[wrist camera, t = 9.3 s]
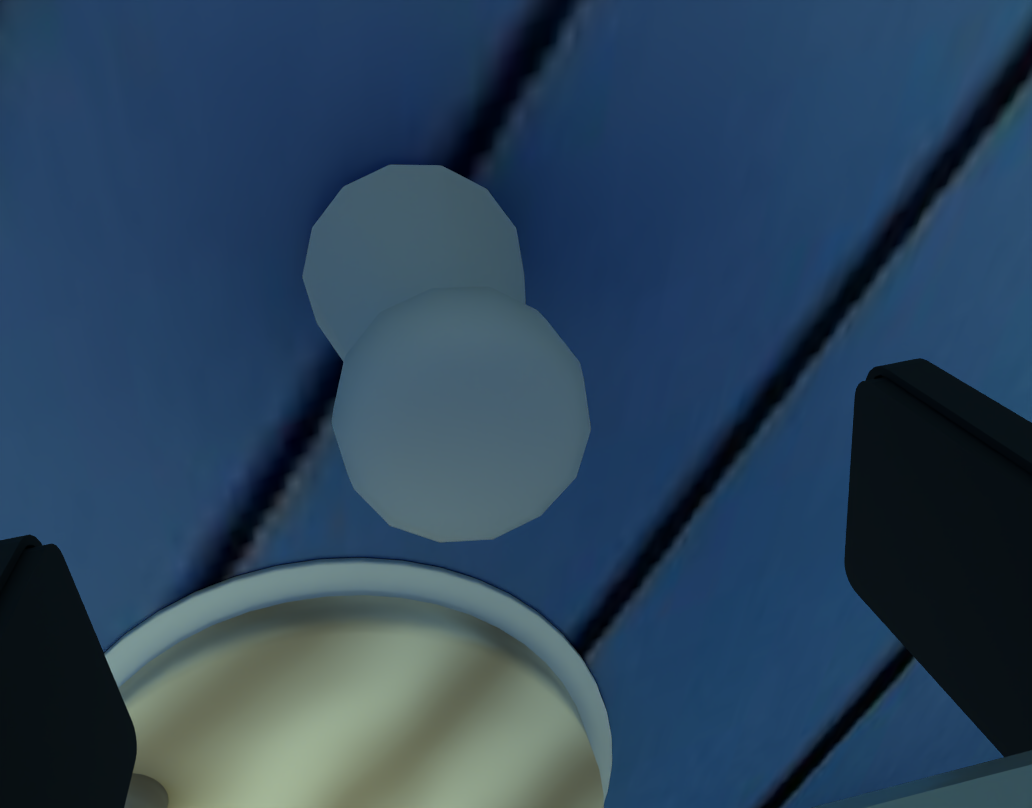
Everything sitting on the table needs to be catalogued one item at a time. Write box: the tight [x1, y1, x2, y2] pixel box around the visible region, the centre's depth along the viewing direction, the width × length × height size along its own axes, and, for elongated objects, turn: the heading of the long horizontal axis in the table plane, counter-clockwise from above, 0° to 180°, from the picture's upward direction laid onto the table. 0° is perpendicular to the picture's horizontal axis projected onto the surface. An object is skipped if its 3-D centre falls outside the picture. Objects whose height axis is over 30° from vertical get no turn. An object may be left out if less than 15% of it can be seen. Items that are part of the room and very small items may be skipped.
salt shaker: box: [302, 165, 591, 542], centre depth 20 cm, size 6×6×13 cm
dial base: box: [104, 558, 612, 801], centre depth 33 cm, size 21×21×1 cm
